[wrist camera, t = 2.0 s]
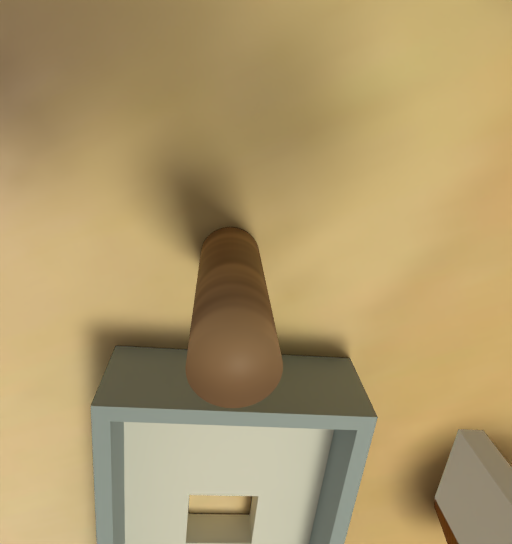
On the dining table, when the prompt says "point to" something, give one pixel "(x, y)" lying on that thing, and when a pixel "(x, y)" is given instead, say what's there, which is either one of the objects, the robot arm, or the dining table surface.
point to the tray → (227, 453)
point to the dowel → (232, 325)
